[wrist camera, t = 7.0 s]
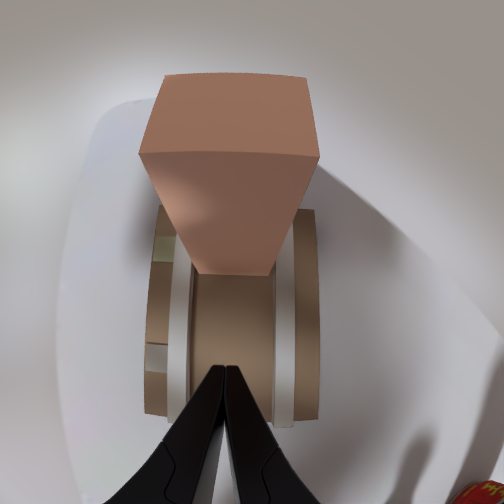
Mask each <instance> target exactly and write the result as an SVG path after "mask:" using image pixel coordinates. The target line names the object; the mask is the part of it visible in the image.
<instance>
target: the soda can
mask: <svg viewBox="0 0 504 504" xmlns="http://www.w3.org/2000/svg"><path fill="white" fill-rule="evenodd" d="M503 499H504V484H501V483H498V482H495V481H484V482H481V483H477V482H476V483H472V484H470V485H468V486H467V487H465V488H464V489H463V490H461V491H460V492H459V493H458V494H457V495H456V496H455V497H454V498H453V500H452V501H451V502H450V503H449V504H497V503H498V502H500V501H502V500H503Z"/></svg>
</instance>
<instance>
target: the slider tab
mask: <svg viewBox="0 0 504 504" xmlns="http://www.w3.org/2000/svg"><path fill="white" fill-rule="evenodd" d="M138 154H139V156H140V158H141V160H142V162H143V164H144V167H145V169H146V171H147V173H148V175H149V177H150V179H151V181H152V183H153V186H154V188H155V190H156V192H157V194H158V196H159V198H160V200H161V202H162V204H163V206H164V208H165V210H166V212H167V214H168V216H169V218H170V220H171V222H172V224H173V226H174V228H175V230H176V232H177V234H178V236H179V237H180V239H181V241H182V243H183V245H184V247H185V249H186V251H187V253H188V255H189V256H190V258H191V260H192V262H193V264H194V266H195V268H196V269H197V271H198V273H199V274H218V275H251V276H269V274H270V271H271V269H272V267H273V265H274V262H275V260H276V258H277V256H278V254H279V251H280V249H281V247H282V244H283V242H284V240H285V238H286V235H287V233H288V231H289V229H290V226H291V224H292V222H293V219H294V217H295V215H296V212H297V210H298V208H299V205H300V203H301V201H302V198H303V196H304V194H305V191H306V189H307V187H308V184H309V182H310V180H311V177H312V175H313V173H314V170H315V168H316V165H317V163H318V161H319V158H320V155H319V148H318V141H317V135H316V129H315V123H314V117H313V111H312V106H311V100H310V95H309V90H308V85H307V80H306V78H301V77H293V76H283V75H271V74H270V75H269V74H253V73H193V74H177V75H166V76H165V78H164V80H163V83H162V85H161V88H160V90H159V93H158V96H157V98H156V101H155V104H154V107H153V109H152V112H151V115H150V118H149V121H148V124H147V127H146V130H145V133H144V137H143V140H142V143H141V146H140V150H139V153H138Z"/></svg>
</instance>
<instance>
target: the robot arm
mask: <svg viewBox="0 0 504 504" xmlns="http://www.w3.org/2000/svg"><path fill="white" fill-rule="evenodd" d="M224 425H225V430H226V438H227V446H228V454H229V461H230V468H231V475H232V482H233V488H234V495H235V501H236V504H320V502H319V501H318V500H317V499H316V498H315V497H314V495H313V494H312V493H311V492H310V491H309V489H308V488H307V487H306V486H305V485H304V483H303V482H302V481H301V480H300V478H299V477H298V476H297V474H296V473H295V471H294V470H293V469H292V467H291V465H290V464H289V462H288V461H287V459H286V457H285V456H284V454H283V452H282V450H281V448H280V447H279V445H278V443H277V441H276V439H275V437H274V436H273V434H272V432H271V430H270V428H269V426H268V424H267V422H266V420H265V418H264V416H263V415H262V413H261V411H260V409H259V407H258V405H257V403H256V401H255V399H254V397H253V395H252V393H251V391H250V389H249V387H248V384H247V382H246V380H245V378H244V376H243V374H242V372H241V370H240V368H239V366H237V365H227V366H226V367H225V366H224V365H216V364H214V365H212V366H211V367H210V369H209V371H208V372H207V374H206V375H205V377H204V378H203V380H202V381H201V383H200V384H199V386H198V387H197V389H196V390H195V392H194V393H193V395H192V396H191V398H190V399H189V401H188V402H187V404H186V405H185V407H184V408H183V410H182V411H181V413H180V414H179V416H178V417H177V419H176V420H175V422H174V423H173V425H172V426H171V428H170V429H169V431H168V432H167V433H166V435H165V436H164V438H163V439H162V441H161V442H160V443H159V445H158V446H157V448H156V449H155V451H154V452H153V453H152V455H151V456H150V457H149V459H148V460H147V461H146V462H145V463H144V465H143V466H142V467H141V468H140V469H139V470H138V471H137V472H136V473H135V474H134V475H133V476H132V478H131V479H130V480H129V481H128V482H127V483H126V484H125V485H124V486H123V487H122V488H121V489H120V490H119V491H118V492H117V493H116V494H114V495H113V496H112V497H111V498H110V499H109V500H108V501H106V502H105V503H103V504H211V503H212V497H213V491H214V485H215V480H216V474H217V468H218V462H219V456H220V450H221V444H222V438H223V432H224ZM497 504H504V499H503V500H502V501H500V502H498V503H497Z"/></svg>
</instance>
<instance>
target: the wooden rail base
mask: <svg viewBox="0 0 504 504" xmlns="http://www.w3.org/2000/svg"><path fill="white" fill-rule="evenodd" d="M214 364H216V365H224V366H225V367H226V366H227V365H237V366H239V368H240V370H241V372H242V374H243V376H244V378H245V380H246V382H247V384H248V387H249V389H250V391H251V393H252V395H253V397H254V399H255V401H256V403H257V405H258V407H259V409H260V411H261V413H262V415H263V416H264V418H265V420H266V422H272V424H273V426H274V428H285V427H293V421H302V420H314V419H318V408H319V376H320V315H319V282H318V260H317V243H316V228H315V215H314V210H309V209H298V210H297V212H296V215H295V217H294V219H293V222H292V224H291V226H290V229H289V231H288V233H287V235H286V238H285V240H284V242H283V244H282V247H281V249H280V251H279V254H278V256H277V258H276V260H275V262H274V265H273V267H272V269H271V271H270V274H269V276H251V275H218V274H199V273H198V271H197V269H196V268H195V266H194V264H193V262H192V260H191V258H190V256H189V255H188V253H187V251H186V249H185V247H184V245H183V243H182V241H181V239H180V237H179V236H178V234H177V232H176V230H175V228H174V226H173V224H172V222H171V220H170V218H169V216H168V214H167V212H166V210H165V208H164V206H163V205H160V206H159V212H158V218H157V224H156V231H155V238H154V246H153V253H152V262H151V270H150V280H149V290H148V302H147V316H146V333H145V359H144V407H145V414H152V415H158V416H165V417H168V423H174V422H175V420H176V419H177V417H178V416H179V414H180V413H181V411H182V410H183V408H184V407H185V405H186V404H187V402H188V401H189V399H190V398H191V396H192V395H193V393H194V392H195V390H196V389H197V387H198V386H199V384H200V383H201V381H202V380H203V378H204V377H205V375H206V374H207V372H208V371H209V369H210V367H211V366H212V365H214Z"/></svg>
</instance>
